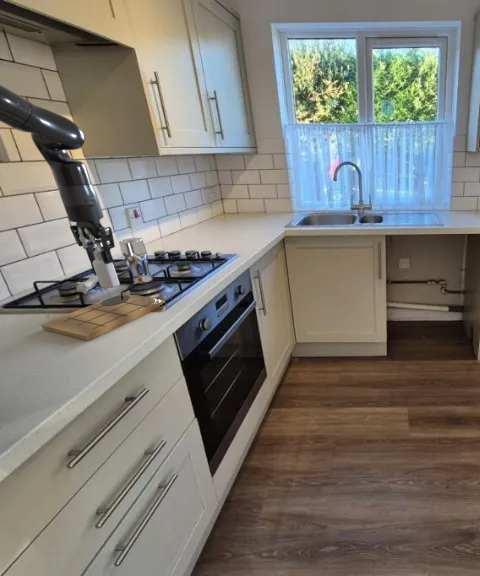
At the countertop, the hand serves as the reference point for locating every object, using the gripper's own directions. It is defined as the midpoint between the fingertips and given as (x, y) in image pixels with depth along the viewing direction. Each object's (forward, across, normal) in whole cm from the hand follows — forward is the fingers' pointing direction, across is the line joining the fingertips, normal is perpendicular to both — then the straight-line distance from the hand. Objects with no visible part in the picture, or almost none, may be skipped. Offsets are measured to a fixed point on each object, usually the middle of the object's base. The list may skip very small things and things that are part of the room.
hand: (101, 261), depth 103 cm
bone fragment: (+14, -22, +6) cm, 27 cm away
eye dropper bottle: (+8, 0, 0) cm, 8 cm away
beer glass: (+14, -10, +16) cm, 24 cm away
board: (+14, +5, -6) cm, 16 cm away
